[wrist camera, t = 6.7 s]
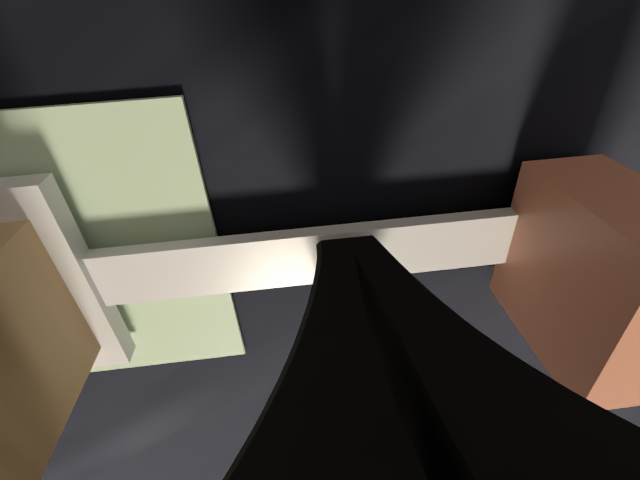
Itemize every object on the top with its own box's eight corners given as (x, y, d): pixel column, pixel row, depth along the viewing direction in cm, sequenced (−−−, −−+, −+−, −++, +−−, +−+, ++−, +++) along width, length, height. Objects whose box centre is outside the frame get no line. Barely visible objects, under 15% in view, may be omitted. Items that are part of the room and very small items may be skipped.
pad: (-12, 380, 12) (-15, 384, 12) (-233, 127, 8) (-242, 130, 7) (245, 350, 12) (245, 353, 12) (182, 94, 8) (181, 96, 8)
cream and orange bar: (-44, 366, 11) (-178, 533, 8) (-202, 194, 8) (-543, 352, 5) (546, 299, 12) (651, 421, 9) (614, 122, 9) (818, 209, 6)
